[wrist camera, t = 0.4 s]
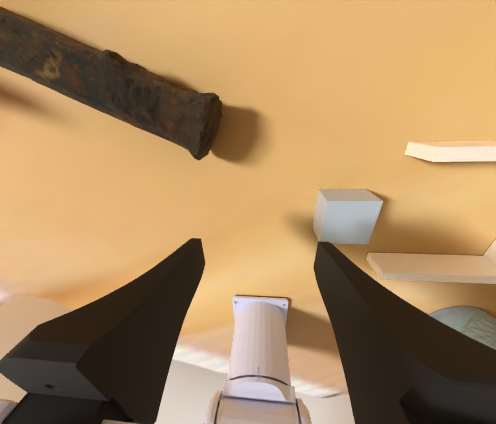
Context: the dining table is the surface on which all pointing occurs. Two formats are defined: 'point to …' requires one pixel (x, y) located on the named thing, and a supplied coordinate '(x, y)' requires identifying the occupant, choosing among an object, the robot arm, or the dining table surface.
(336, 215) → the frosted grey cube
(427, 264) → the cream u-shaped frame
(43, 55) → the dark brown elongated piece
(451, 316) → the green embossed cup
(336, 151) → the dining table surface
